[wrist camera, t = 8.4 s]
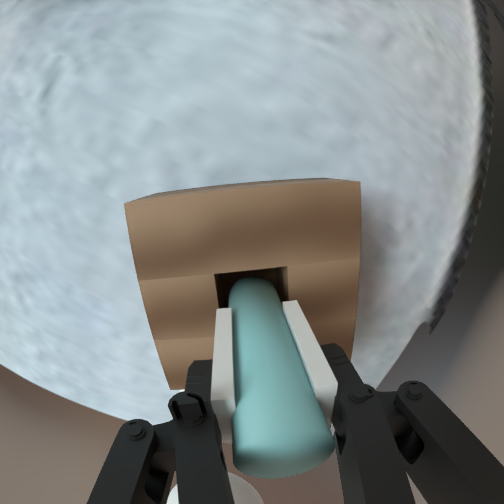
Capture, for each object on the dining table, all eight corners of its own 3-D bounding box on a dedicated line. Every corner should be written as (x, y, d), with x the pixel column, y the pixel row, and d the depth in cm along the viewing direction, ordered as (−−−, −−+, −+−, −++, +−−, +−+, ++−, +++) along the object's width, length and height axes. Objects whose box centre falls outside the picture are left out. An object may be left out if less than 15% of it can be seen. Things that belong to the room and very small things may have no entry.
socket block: (154, 193, 21) (124, 203, 15) (323, 177, 22) (360, 181, 15) (181, 340, 25) (170, 389, 19) (324, 324, 26) (349, 368, 19)
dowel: (225, 278, 18) (225, 437, 6) (275, 272, 18) (341, 419, 6) (231, 321, 19) (239, 482, 7) (277, 315, 19) (329, 468, 7)
